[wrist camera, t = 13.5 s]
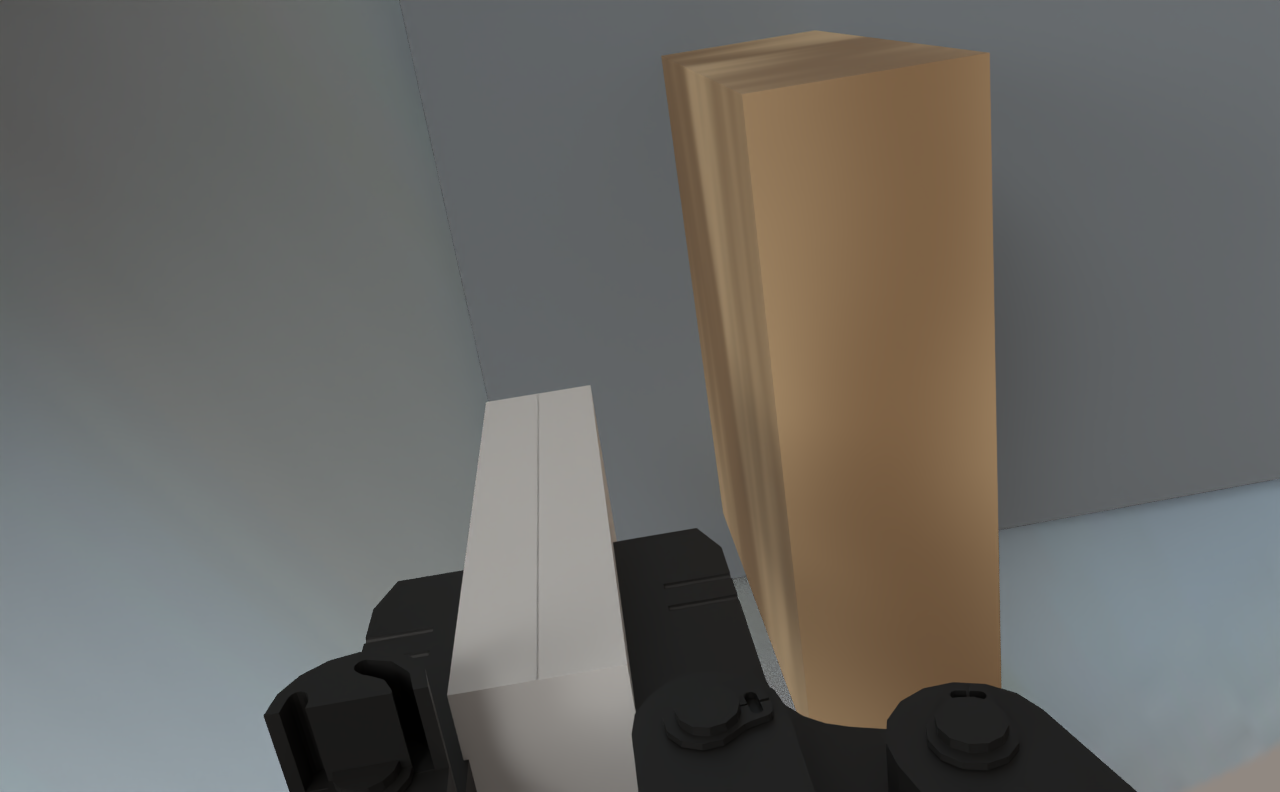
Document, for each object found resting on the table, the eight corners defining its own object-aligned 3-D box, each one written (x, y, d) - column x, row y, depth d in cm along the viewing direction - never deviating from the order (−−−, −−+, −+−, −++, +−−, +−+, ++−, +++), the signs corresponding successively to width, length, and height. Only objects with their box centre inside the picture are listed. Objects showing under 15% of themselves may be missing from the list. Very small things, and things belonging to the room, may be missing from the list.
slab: (723, 512, 23) (813, 757, 16) (661, 55, 19) (742, 94, 12) (851, 489, 23) (1002, 720, 16) (815, 30, 19) (989, 53, 12)
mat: (535, 596, 24) (535, 615, 24) (397, -31, 19) (392, -32, 18) (1335, 449, 25) (1359, 463, 24) (1415, -192, 20) (1449, -199, 19)
